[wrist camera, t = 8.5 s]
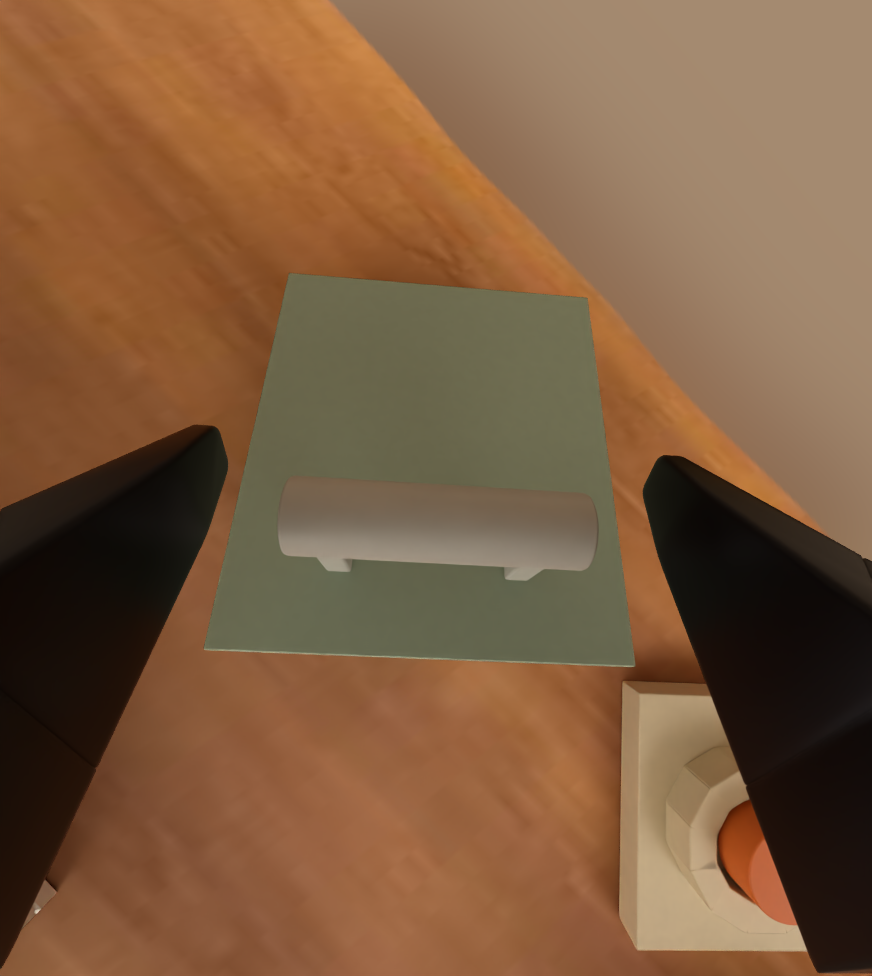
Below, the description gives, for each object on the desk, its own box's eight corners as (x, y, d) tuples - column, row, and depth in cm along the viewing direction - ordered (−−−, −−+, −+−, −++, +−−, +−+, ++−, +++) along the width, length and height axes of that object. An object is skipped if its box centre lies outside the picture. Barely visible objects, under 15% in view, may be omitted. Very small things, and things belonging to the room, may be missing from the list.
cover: (623, 666, 12) (771, 668, 7) (213, 650, 12) (75, 639, 7) (581, 310, 17) (650, 171, 12) (293, 287, 17) (246, 131, 12)
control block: (797, 918, 21) (872, 995, 18) (618, 916, 21) (659, 995, 17) (792, 686, 22) (862, 716, 19) (621, 680, 22) (661, 709, 18)
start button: (799, 889, 18) (839, 927, 17) (717, 887, 18) (749, 926, 16) (797, 799, 19) (836, 827, 17) (717, 797, 18) (748, 825, 17)
